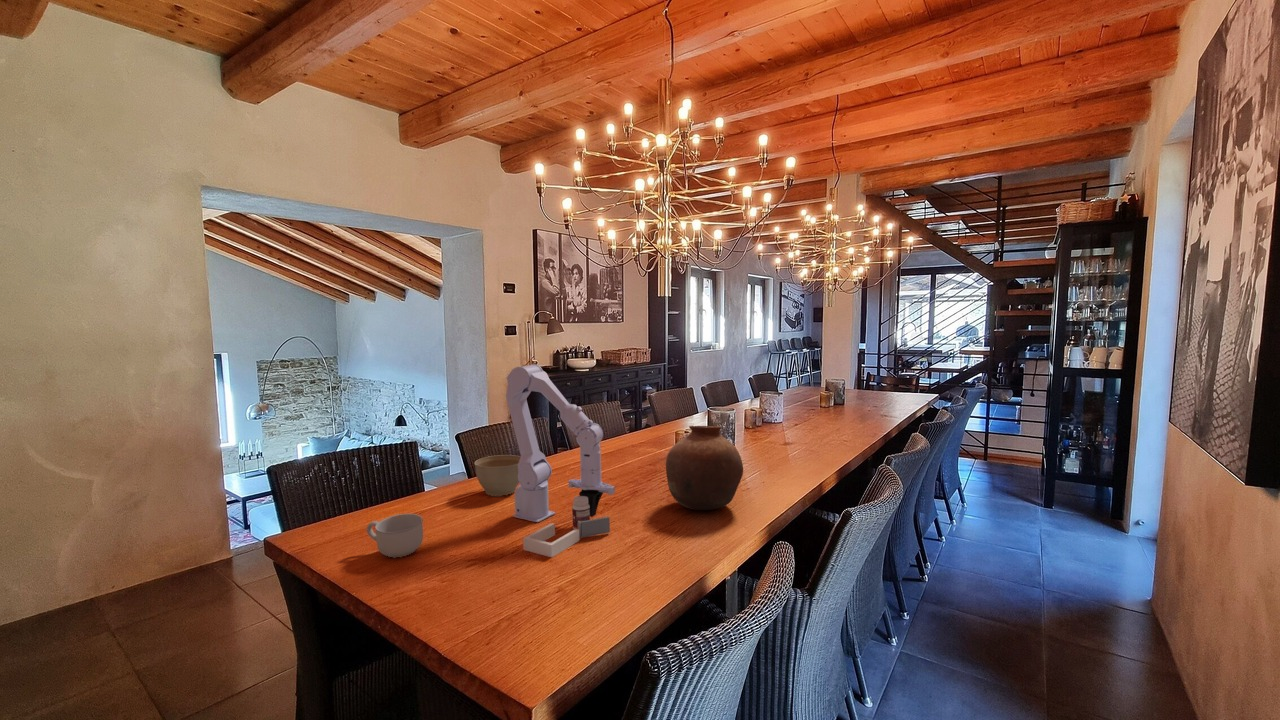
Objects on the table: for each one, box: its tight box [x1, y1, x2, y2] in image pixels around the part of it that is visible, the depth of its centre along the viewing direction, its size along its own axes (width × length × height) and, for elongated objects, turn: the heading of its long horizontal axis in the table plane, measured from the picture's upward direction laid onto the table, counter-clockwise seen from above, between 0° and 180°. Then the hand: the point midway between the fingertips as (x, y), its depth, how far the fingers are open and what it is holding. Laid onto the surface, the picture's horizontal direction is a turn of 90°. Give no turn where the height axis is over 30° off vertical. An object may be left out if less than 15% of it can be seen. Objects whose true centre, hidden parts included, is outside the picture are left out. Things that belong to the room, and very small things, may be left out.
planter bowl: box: [474, 454, 521, 497], centre depth 175 cm, size 16×16×11 cm
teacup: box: [366, 513, 424, 559], centre depth 131 cm, size 14×11×8 cm
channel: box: [522, 523, 580, 558], centre depth 133 cm, size 9×11×3 cm
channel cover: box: [578, 516, 611, 540], centre depth 138 cm, size 9×1×4 cm, turn 115°
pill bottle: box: [571, 495, 591, 530], centre depth 144 cm, size 5×5×8 cm
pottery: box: [665, 425, 744, 511], centre depth 159 cm, size 23×23×25 cm
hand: (591, 515), depth 148 cm, fingers closed
